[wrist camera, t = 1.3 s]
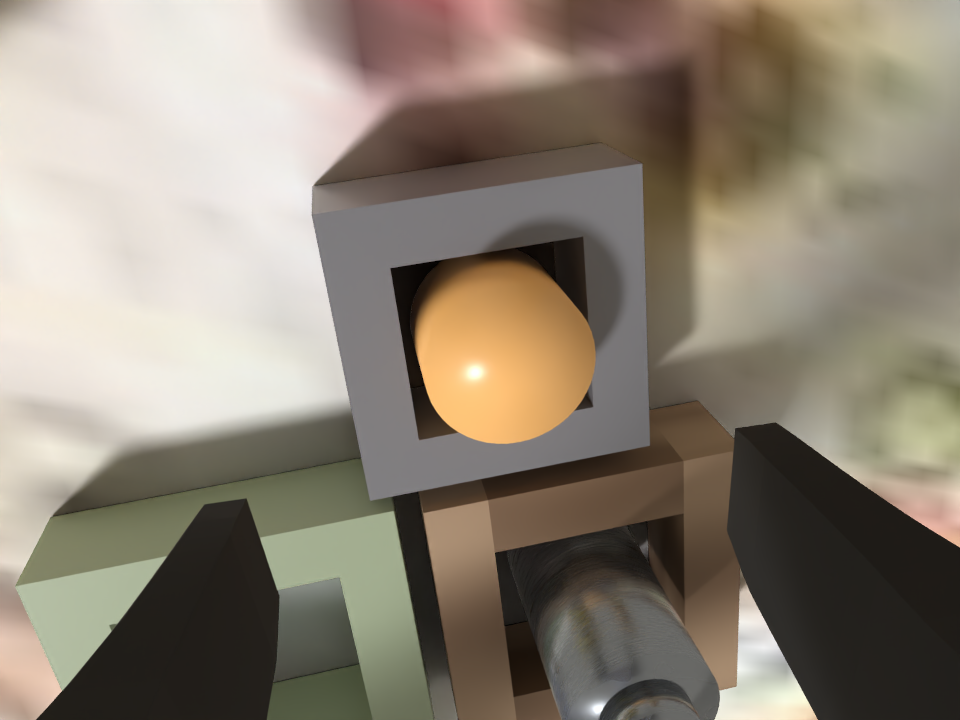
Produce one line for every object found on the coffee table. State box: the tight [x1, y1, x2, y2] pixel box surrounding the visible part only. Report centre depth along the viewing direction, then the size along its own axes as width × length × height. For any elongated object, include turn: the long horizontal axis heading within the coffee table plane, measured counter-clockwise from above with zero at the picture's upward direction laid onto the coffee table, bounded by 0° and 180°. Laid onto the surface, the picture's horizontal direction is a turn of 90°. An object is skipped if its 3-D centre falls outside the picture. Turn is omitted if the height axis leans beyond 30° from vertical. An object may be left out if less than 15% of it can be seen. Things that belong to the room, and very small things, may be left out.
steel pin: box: [508, 525, 720, 720], centre depth 23 cm, size 4×4×8 cm
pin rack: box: [15, 458, 435, 720], centre depth 24 cm, size 10×10×3 cm
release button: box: [410, 248, 596, 444], centre depth 20 cm, size 4×4×3 cm
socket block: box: [418, 401, 740, 720], centre depth 25 cm, size 9×9×3 cm
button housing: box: [312, 143, 650, 501], centre depth 21 cm, size 8×8×3 cm
